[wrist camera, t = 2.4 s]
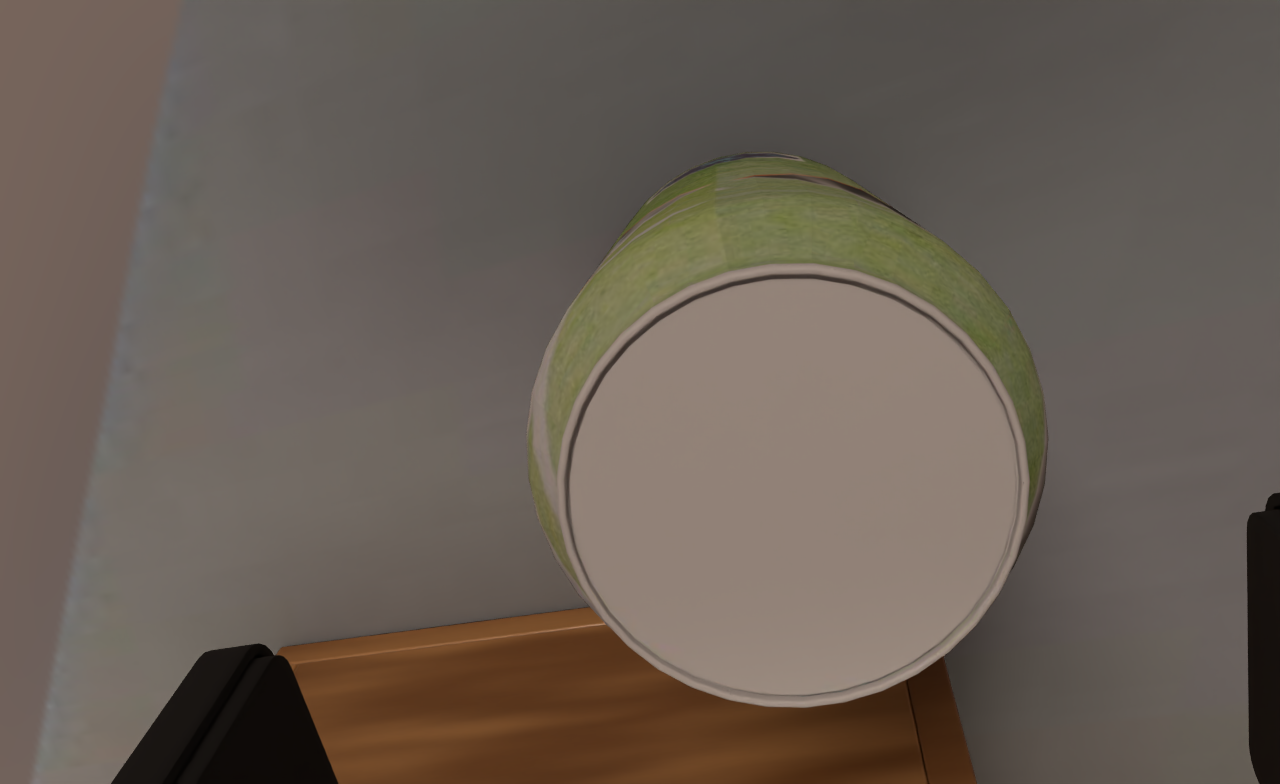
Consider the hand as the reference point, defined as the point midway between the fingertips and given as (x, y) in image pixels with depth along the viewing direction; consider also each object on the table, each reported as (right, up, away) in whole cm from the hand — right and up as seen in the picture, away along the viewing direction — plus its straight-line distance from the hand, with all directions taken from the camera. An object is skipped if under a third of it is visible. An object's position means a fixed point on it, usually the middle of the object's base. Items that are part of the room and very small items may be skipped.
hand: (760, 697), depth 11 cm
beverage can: (+1, +6, +12) cm, 13 cm away
